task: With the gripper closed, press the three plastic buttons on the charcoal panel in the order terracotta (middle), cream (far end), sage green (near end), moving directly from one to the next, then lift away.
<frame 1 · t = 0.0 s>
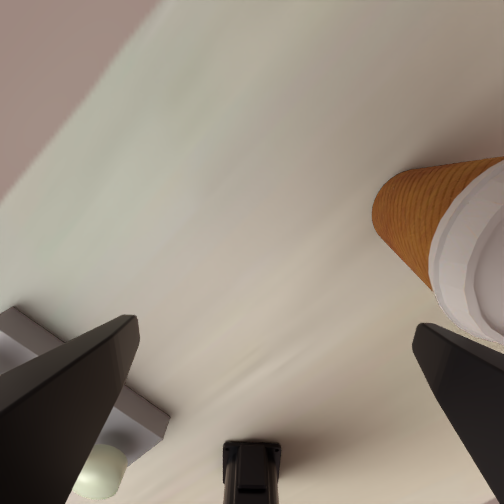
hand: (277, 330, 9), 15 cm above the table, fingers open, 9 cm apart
disposable coffee cup: (409, 208, 22), on the table
button panel: (72, 390, 28), on the table
sage button: (99, 471, 25), point 5 cm above the table, slide at 0.0 cm
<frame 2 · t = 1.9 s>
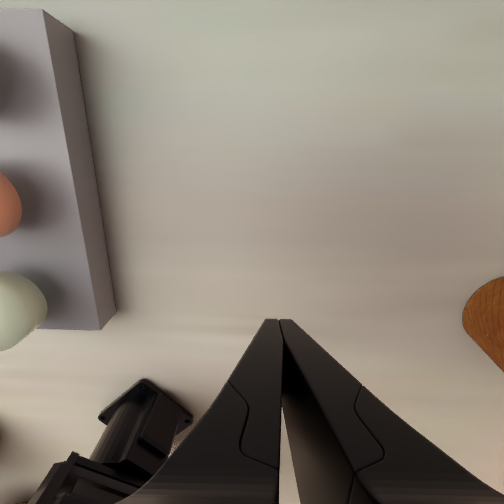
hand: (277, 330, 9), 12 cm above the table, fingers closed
disposable coffee cup: (499, 309, 22), on the table
button panel: (33, 192, 19), on the table
natural sponge: (32, 501, 31), on the table
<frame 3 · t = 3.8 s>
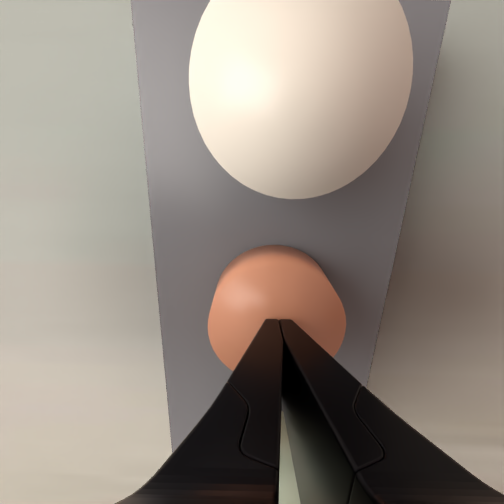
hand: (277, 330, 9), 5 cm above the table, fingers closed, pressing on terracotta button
terracotta button: (274, 312, 10), point 4 cm above the table, slide at 1.2 cm, touching gripper
cream button: (292, 97, 6), point 5 cm above the table, slide at 0.0 cm
button panel: (268, 271, 13), on the table
sage button: (268, 474, 11), point 5 cm above the table, slide at 0.0 cm
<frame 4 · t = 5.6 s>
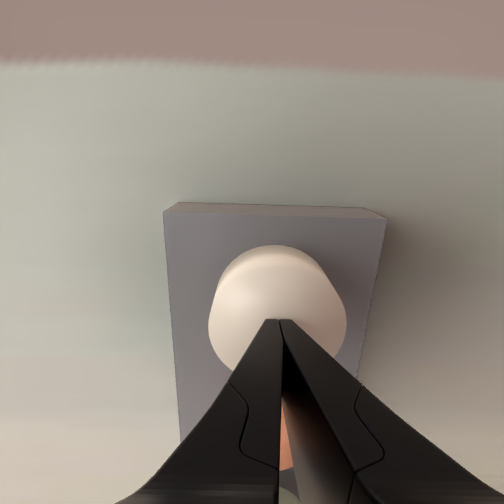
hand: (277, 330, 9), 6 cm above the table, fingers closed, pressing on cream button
terracotta button: (265, 417, 13), point 4 cm above the table, slide at 1.3 cm
cream button: (274, 312, 10), point 5 cm above the table, slide at 0.0 cm, touching gripper
button panel: (262, 363, 16), on the table
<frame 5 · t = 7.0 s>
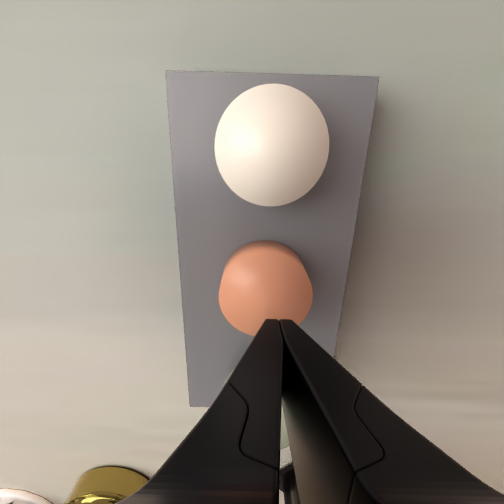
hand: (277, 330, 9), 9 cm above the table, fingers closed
terracotta button: (264, 288, 14), point 4 cm above the table, slide at 1.3 cm
cream button: (270, 149, 11), point 4 cm above the table, slide at 1.3 cm
salt shaker: (118, 487, 25), on the table
button panel: (261, 260, 17), on the table
sage button: (261, 406, 15), point 5 cm above the table, slide at 0.0 cm
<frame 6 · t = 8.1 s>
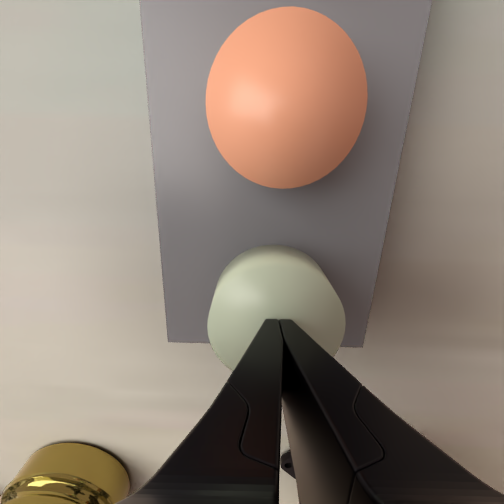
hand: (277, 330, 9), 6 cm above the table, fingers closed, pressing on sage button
terracotta button: (282, 112, 8), point 4 cm above the table, slide at 1.3 cm
salt shaker: (81, 472, 20), on the table
button panel: (273, 124, 12), on the table
sage button: (273, 312, 10), point 5 cm above the table, slide at 0.3 cm, touching gripper
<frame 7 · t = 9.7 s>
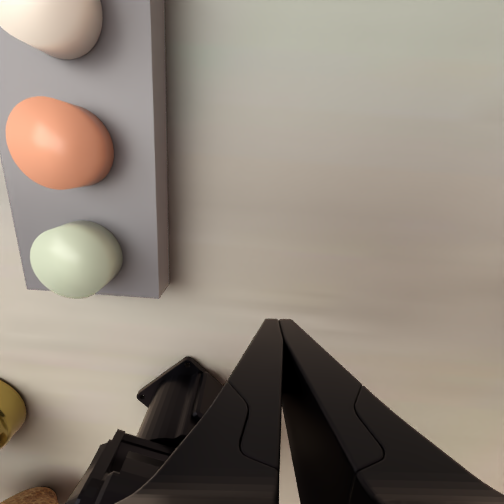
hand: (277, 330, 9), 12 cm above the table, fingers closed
terracotta button: (63, 146, 15), point 4 cm above the table, slide at 1.3 cm
button panel: (99, 148, 18), on the table
natural sponge: (52, 486, 29), on the table
sage button: (79, 258, 17), point 4 cm above the table, slide at 1.3 cm
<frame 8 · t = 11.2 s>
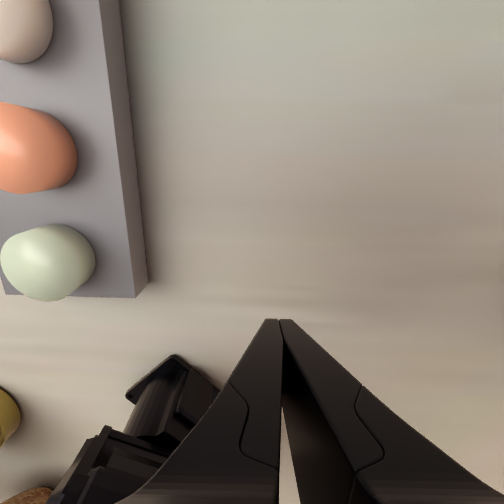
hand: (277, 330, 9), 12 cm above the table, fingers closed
terracotta button: (24, 150, 15), point 4 cm above the table, slide at 1.3 cm
button panel: (67, 151, 18), on the table
natural sponge: (52, 486, 30), on the table
sage button: (51, 262, 17), point 4 cm above the table, slide at 1.3 cm
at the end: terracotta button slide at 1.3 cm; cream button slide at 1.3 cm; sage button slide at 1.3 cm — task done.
